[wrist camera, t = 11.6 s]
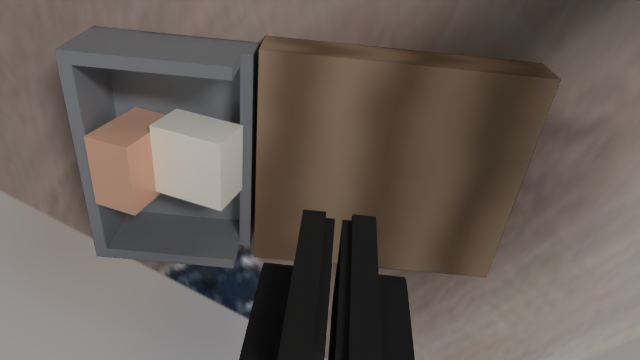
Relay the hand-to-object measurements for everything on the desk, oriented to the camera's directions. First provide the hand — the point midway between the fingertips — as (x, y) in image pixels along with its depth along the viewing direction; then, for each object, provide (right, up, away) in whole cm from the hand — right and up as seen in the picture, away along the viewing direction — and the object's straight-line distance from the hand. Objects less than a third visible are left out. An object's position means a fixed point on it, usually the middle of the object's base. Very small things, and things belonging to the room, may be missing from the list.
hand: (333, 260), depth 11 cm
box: (-10, +5, +23) cm, 26 cm away
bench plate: (+4, +4, +24) cm, 24 cm away
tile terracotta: (-11, +3, +20) cm, 23 cm away
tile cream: (-8, +4, +22) cm, 23 cm away
